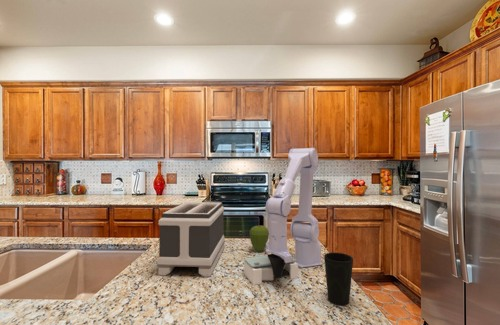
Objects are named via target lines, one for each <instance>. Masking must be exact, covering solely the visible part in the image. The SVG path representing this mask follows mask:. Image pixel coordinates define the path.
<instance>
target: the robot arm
mask: <svg viewBox="0 0 500 325" xmlns="http://www.w3.org/2000/svg"><path fill="white" fill-rule="evenodd" d="M287 156H288V157H287V159H288V167H287V169H286V172H285V175H284V178H282V179H280V180H279V181H278V184H277V186H276V188H275V191H274V193H273V195H272V196H271V197H270V198H268V199H267V200H266V203H265V206H264V208H265V213H266V217H267V218H266V219H267V220H268V232H269V236H268V242H267V243H266V247H265V253H268V254H267V255H268V258H269V260H270V263H271V266H272V270H273V279H276V280H277V279H282V277H283V276H282V275H283V272H284V270H285V269H284V266H285V264H286V263H289V262H292V258H293V257H292V255H291V254H290V252H289V249H288V215H289V214H290V213H291V204H292V200H291V199H292V198H293V197H292V196H293V195H294V191H295V189H296V184H295V181H296V179H297V177H298V175H299V173H300V177H299V178H300V179H299V180H300V181H299V192H298V193H299V194H298V196H299V197H298V212H297V214H296V215H295V216H293V217H292V219H291V224H290V227H289V228H290V229H289V232H290V236H291V237H292V238H293V239H292V240H294V259H296V261H295V262H296V263H298V268H307V267H308V268H309V267H316V266H321V265H323V262H322V244H321V242H320V241H319V239H318V238H319V235H320V227H319V220H318V219H317V218H316V217H315V216H314V215H313V214H312V208H313V207H312V206H313V190H314V188H313V187H314V174H315V173H314V172H316V171H317V170H318V164H319V163H318V162H319V154H318V151H317V149H316V148H315V147H306V148H303V147H302V148H291V149H289V152H288V155H287Z"/></svg>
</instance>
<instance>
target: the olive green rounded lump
mask: <svg viewBox="0 0 500 325" xmlns="http://www.w3.org/2000/svg"><path fill="white" fill-rule="evenodd" d="M249 240H250V242H251V245H252V248H253V249H254V250H255V251H256V252H258V253H260V252H261V253H262V252H264V250H266V243H268V242H269V228H267V227H266V226H265V225H260V224H259V225H255V226H252V227H251V228H250V231H249Z"/></svg>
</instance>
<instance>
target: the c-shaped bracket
mask: <svg viewBox="0 0 500 325" xmlns="http://www.w3.org/2000/svg"><path fill="white" fill-rule="evenodd" d="M243 264H244V265H243V271H244V272H243V274H244V276H246V278H247V279H248V281H249V282H250V283H251V284H252V285H253V286H256V285H262V283H263V281H262V269H261V268H259V267H251V266H250V265H249V264H248V263H247V262H246V261H245V260H244V259H243ZM283 270H286V271H287V272H288V273H289V279H291V280H292V279H297V278H299V266H298V263H296V262H295V261H294V262H289V263H286V264H285V266H284V269H283Z"/></svg>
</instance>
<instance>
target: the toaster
mask: <svg viewBox="0 0 500 325" xmlns="http://www.w3.org/2000/svg"><path fill="white" fill-rule="evenodd" d="M224 211H225V207H224V206H223V202H218V201H217V202H215V201H213V202H207V201H203V202H201V201H185V202H183V203H181V204H179V205H176V206H175V207H172V208H170V209H167V210H166V211H163V212H161V218H160V219H158V226H159V238H158V239H159V240H158V241H159V248H158V249H159V250H158V251H159V254H158V258H157V260H156V264H157V266H158V269H157V270H158V272H157V274H158V276H167V275H169V274H170V273H172V272H173V270H174V269H175V267H185V268H187V267H189V268H190V267H191V268H194V267H195V268H198V274H199V275H201V276H202V277H205V278H207V277H208V278H209V277H211V276H212V274H213V272H214V270H215V268H216V266H217V263H218V261H219V260H220V257H221V256H222V254H223V251H224V249H225V235H224Z"/></svg>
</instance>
